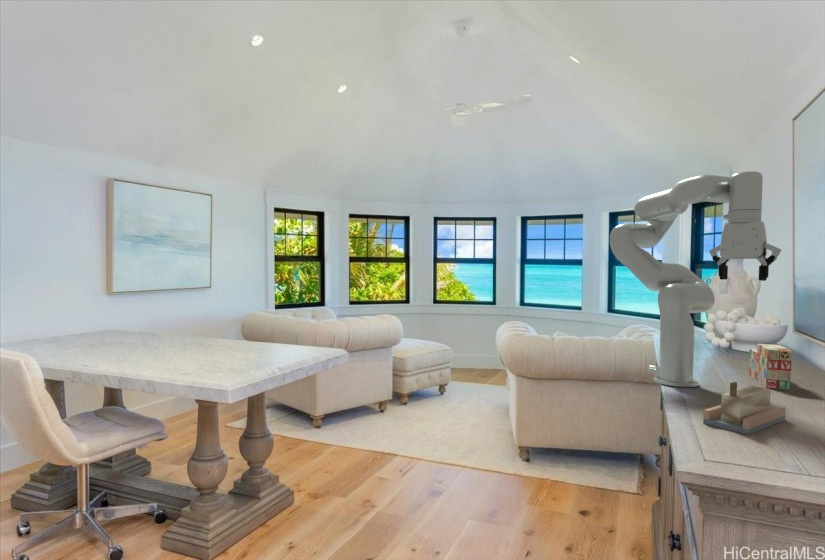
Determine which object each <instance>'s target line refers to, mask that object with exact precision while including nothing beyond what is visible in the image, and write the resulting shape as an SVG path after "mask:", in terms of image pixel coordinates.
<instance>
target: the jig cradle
mask: <svg viewBox="0 0 825 560" xmlns="http://www.w3.org/2000/svg"><path fill="white" fill-rule="evenodd" d="M786 409H787V408H786V406H784V405H783V406H782V405H778V406H775V407H773V408H770V410H767V411H764V412H761V413H758V414H756V415H753V416H750V417H747V418H744V419H743V424H741V425H739V424H735V423H731V422H727V421H723V420H721V404H718V405H716V406H713V407H709V408H706V409H703V415H702V416H703V418H702V419H703V420H702V421H703V423H702V424H704V425H707V426H712V427H717V428H719V429H723V430H728V431H731V432H734V433H740V434H743V435H747V436H750V435H753V434H754V433H758V432H759V431H762V430H764V429H767V428H769V427H772V426H774V425H777V424H779V423H782V422H784V421H786V411H787V410H786Z"/></svg>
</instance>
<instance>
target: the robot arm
mask: <svg viewBox="0 0 825 560" xmlns="http://www.w3.org/2000/svg"><path fill="white" fill-rule="evenodd" d="M763 179H764V177H763V175H762V173H761V172H759V171H754V170H752V171H749V170H748V171H741V172H737V173H736V172H735V173H734V174H732V175H731V176H723V175H716V174H715V175H714V174H702V175H697V176H694V177H690V178H686V179H683V180H680V181H679V182H677V183H676V184H674V186H673V187H672V188H669V189H667V190H662V191H659V192H657V193H653V194H649V195H646V196H644V197H642V198H640V199H639V200H638V201H637V202H636V203H635V205H634V211H633V212H634V214H635V216H636V217H637V218H638V219H640V220H642V221H645V222H647V223H633V222H632V223H630V222H627V223H621V224H618V225H616V226H615V227H613V228H612V230H611V231H610V234H609V245H610V249H611V253H612V254H613V255H614V257H615V258H616V260H618V261H619V262H620V263H621V264H622V265H623V266H625V267H626V268H627V270H628V271H630V272H631V273H632V275H634V277H635V278H637V280H639V282H641V283H642V284H643V286H644V287H646V288H647V289H648V290H650V291H653V292H658V294H657V304H658V310H659V320H660V321H659V322H660V325H659V330H660V331H659V358H658V361H659V365H657V366H655V365H650V364H649V366H648V369H647V370H648V373H654V374H655V375H654V376H653V382H655V383H658V384H660V385H661V384H662V385H665V386H671V387H679V388H695V387H697V386H699V381H698V380H697V379H694V359H695V358H694V357H695V354H694V353H695V351H694V350H695V324H694V321H693V318H692V316H691V314H700V313H704V312H708V311H709V310H711V309H712V308H713V307H714V305H715V300H716V299H715V293H714V292H713V290H712V288H711V287H710V286H709V285H708V284H707V283H706V282H705V281H703V280H702V279H701V278H700V277H699V276H698V275H697V274H695V273H694V272H693V271H692V270H691V269H690V268H688V267H686V266H685V265H684V264H683V265H682V264H679V263H669V262H667V263H666V262H661V261H659V260H658V259H656V258H655V257H654V256H653V255H652V254H651V253H649V251H646V250H645V249H650V248H651V249H652V248H653V247H655V246H657V245H658V244H660V242H661V241H662V239H663V238H664V237H665V235H666V234H667V232H668V231H669V230H670V229H671V226H673V224H674V222H675V221H676V219H677V218H678V215H681V214H684V213H685V212H686V211H687V210H688V208H689V205H690V204H696V203H700V202H706V203H707V202H708V203H718V204H728V212H727V214H724V215H723V217H722V219H723V220H726V221H727V222H726V223H724V226H723V228H722V229H723V230H722V233H721V239H720V244H719V245H716V246H715V247H713V248H711V249H709V251H708V252H709V254H710V256H711V257H712V260H713V261H714V262H715V263H716V265H717V266H718V277H719V280H728V275H729V274H728V273H729V271H728V270H729V267H728V265H727V264H728V263H729V261H731V259H733V260H734V259H735V260H736V259H738V260H744V259H745V260H750V259H751V260H754V259H755V260H757V261H758V262H759V263H760V265H759V266H758V281H760V282H762V281H765V282H766V281H767V280H768V277H769V269H770V267H769V266H771V264H772V263H774V262H775V261H776V260H777V259H778V257H779V255H780V253H782V248H779V247H777V246H774V245H773V244H770V243H768V240H767V232H766V226H765V225H766V224H765V222H764V221H762V210H763V209H762V206H763ZM767 250H769V251H771V255H769V256H768V257H766V256H767V252H768V251H767ZM718 252H719V255H718Z"/></svg>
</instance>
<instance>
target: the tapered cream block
mask: <svg viewBox="0 0 825 560" xmlns="http://www.w3.org/2000/svg"><path fill="white" fill-rule="evenodd" d="M771 390H772V389H769V388H765V387H760V386H755V385H750V386H747V387H742V388H740V389H738V382H737V381H732V382H730V383H729V391H728V392H724V393H722V394H721V402H720V403H721V404H720V405H721V420H723V421H727V422H731V423H735V424H739V425H741V424H743V419H744V418H747V417H750V416H753V415H756V414H758V413H761V412H764V411H767V410H770V409H771Z"/></svg>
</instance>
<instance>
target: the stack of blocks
mask: <svg viewBox="0 0 825 560" xmlns="http://www.w3.org/2000/svg"><path fill="white" fill-rule="evenodd" d="M748 355H749V365H748V366H749V376H751V378H752V379H754V380H755V381H756V382H757V383H759V384H760V383H761V384H762V386H763V388H767V389H771V390H772V389H773V390H783V391H791V376H792V375H791V374H792V373H791V372H792V359H793V358H792V357H793V351H792V350H790V349H789V348H788V347H784V346H782V345H779V344H772V343H771V344H767V343H757V344H756V348H749V354H748ZM761 384H760V385H761Z"/></svg>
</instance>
